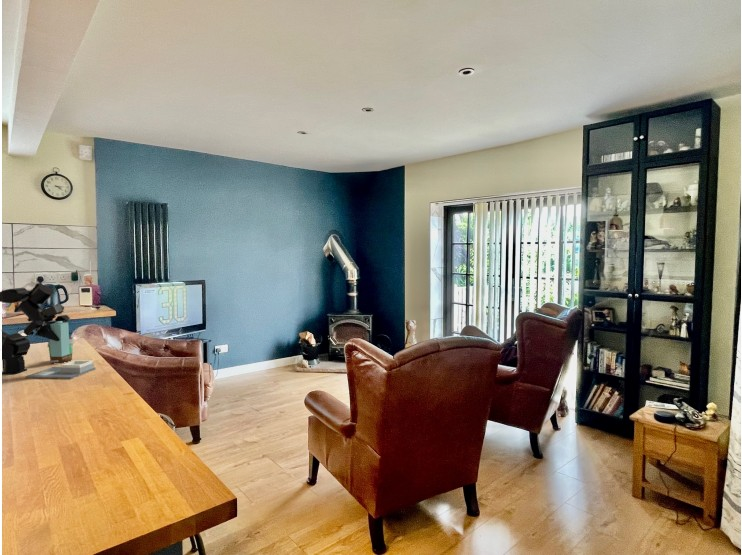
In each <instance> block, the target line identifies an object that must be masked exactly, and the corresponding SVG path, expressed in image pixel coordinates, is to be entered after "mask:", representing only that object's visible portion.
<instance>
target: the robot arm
mask: <svg viewBox="0 0 742 555" xmlns="http://www.w3.org/2000/svg"><path fill="white" fill-rule="evenodd" d="M54 293H55V291H54V290H53V289H52V288H51V287H49V286H48V285H45V284H43V283H42V282H41V283H40V282H38V283H36V284H35V285H34V287H33V288H31V290H28V289H27V288H26V287H16V288H14V287H13V288H8V289H4V290H1V291H0V303H4V304H5V303H6V304H15V303H18V304H17V305H15V306H14V310H13V311H14V313H20V312H22V313H23V314H24V315H25V316H26V317H27V321H28V322H29V324H27V325H26V326H25V328H24V329H23V333H24V334H25V335H26V336H24V335H22V334H20V333H19V332H16V333H12V334H9V333H7V332H6V331H4V330H1V331H2V360H1V361H2V371H1V372H2V374H1V375H15V374H19V373H22V372H25V370H26V371H28V368H26V366H25V364H26V362H25V359H24V358H25V357H24V356H26V355H28V352H29V350H30V347H31V343H30V342H31V341H30V340H29V339H28V337H29V336H33V335H34V336H36V337H37V336H39V337H41V338H46V339H49V340H50V339H51V340H54V341H59V340H60V339H59V338H58V336H57V335H56V334H55V333H54V332H53V331H52V330H51V326H50V324H54V323H55V322H56V321H63V323H68V321H69V320H70V319H71V317H69V316H68V315H67V314H61V315H59V314H60V313H64V310H65V306H64V305H63V304H61V303H56V304H54V305H52V306H50V307H47V308H46V307H45V308H43V307H42V306H40V305H44V304H45V303H46V302H47V301H48V300H49V299H50V298H51V297H52V296H53V295H54ZM57 315H58V316H57ZM34 331H36V333H34Z"/></svg>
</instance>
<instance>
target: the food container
mask: <svg viewBox="0 0 742 555" xmlns="http://www.w3.org/2000/svg"><path fill="white" fill-rule="evenodd" d="M74 343H75V340H74V337H72V336H69V352H70V354H68V355H65V356H62V357H51V354H50V341H48V343H47V348H48V353H49V360H50V364H51V365H55V364H54V363H60V364H65V363H64V362H66V363H68V361H70V362H71V360H72V361H73V345H74Z"/></svg>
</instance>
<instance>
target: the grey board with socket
mask: <svg viewBox="0 0 742 555" xmlns="http://www.w3.org/2000/svg"><path fill="white" fill-rule="evenodd" d="M94 369H95V370H96V367H94V360H91V359H89V360H85V359H84V360H83V359H82V360H81V359H80V360H79V359H78V360H77V359H76V360H75V359H74V360H72V361H70V362H66V363H61V365H60V366H51V367H49V368H46V369H43V370H40V371H37V372H34V373H31V374H29V375H26V376H25V379H38V378H58V379H59V380H71V379H75V378H77V377H80V376H82V375H84V373H85V374H87V373H90V372H92V371H94ZM89 371H90V372H89ZM86 372H87V373H86ZM81 374H82V375H81ZM79 375H80V376H79ZM74 377H75V378H74Z"/></svg>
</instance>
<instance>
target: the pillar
mask: <svg viewBox="0 0 742 555" xmlns="http://www.w3.org/2000/svg"><path fill="white" fill-rule="evenodd" d="M50 326H51V330H52V331H53V332H54V333H55V334H56V335H57V336H58V338H59V339H60V340H59V341H54V340H51V339H49V342H50V353H49V355H50V354H51V357H62V356H65V355H68V354H70V352H69V337H70V334H69V333H70V332H69V322H66V323H63V321H56V322H55V323H54V324H50Z"/></svg>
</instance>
